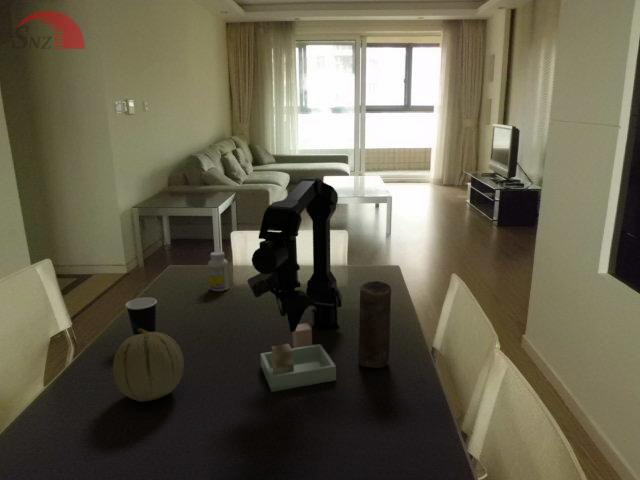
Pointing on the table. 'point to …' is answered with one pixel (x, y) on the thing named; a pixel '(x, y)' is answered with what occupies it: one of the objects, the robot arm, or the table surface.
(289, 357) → the maple block
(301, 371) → the sage tub
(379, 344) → the candle
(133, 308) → the dixie cup
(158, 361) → the cantaloupe
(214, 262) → the supplement bottle
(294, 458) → the table surface
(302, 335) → the coral block
